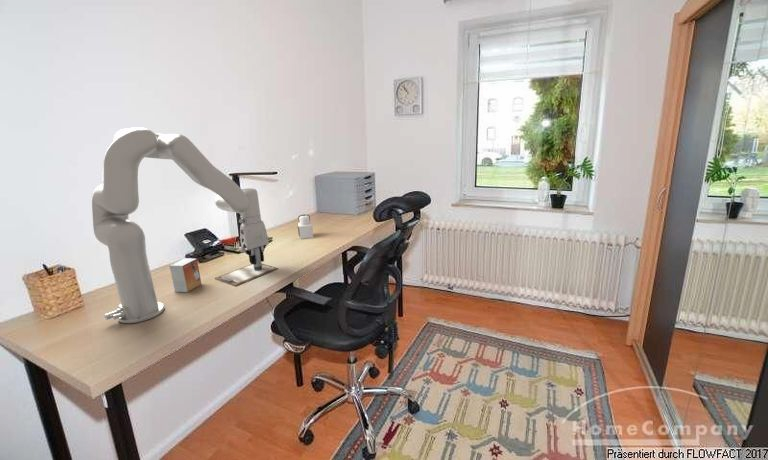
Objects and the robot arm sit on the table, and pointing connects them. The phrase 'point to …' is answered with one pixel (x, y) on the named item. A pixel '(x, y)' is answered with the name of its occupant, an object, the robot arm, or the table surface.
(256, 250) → the marker
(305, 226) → the medicine bottle
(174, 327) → the table surface
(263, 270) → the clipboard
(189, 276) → the small box
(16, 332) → the table surface
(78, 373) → the table surface
